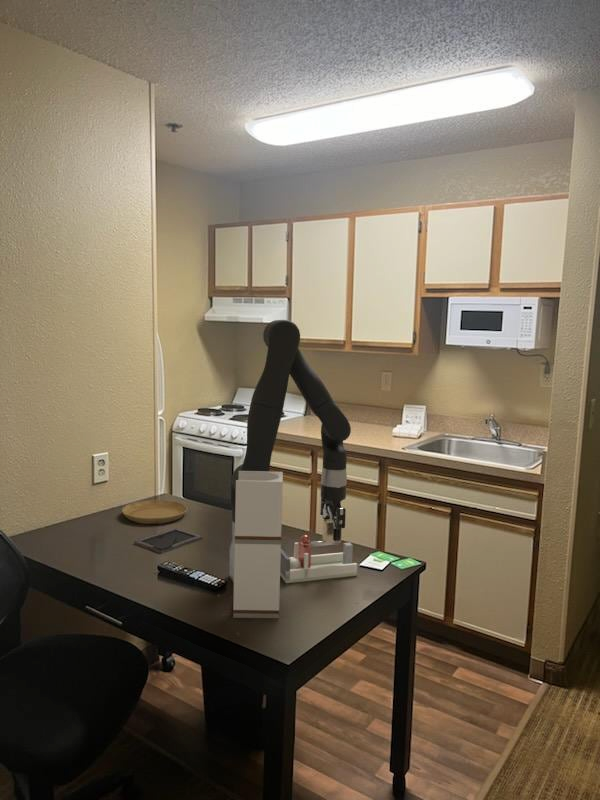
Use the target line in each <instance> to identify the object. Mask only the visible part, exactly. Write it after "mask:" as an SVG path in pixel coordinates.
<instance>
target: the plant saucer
mask: <svg viewBox="0 0 600 800" xmlns="http://www.w3.org/2000/svg"><path fill="white" fill-rule="evenodd" d="M121 511H122V514H123V515H124V516H125V518H127V519H128V520H129V521H131V522H134V523H137V524H143V525H158V524H167V523H171V522H175V521H178V520H179V519H181V518H182V517H183V516H184V515H185V514H186V513H187V511H188V506H187V505H186V504H184V503H182V502H178V501H175V500H165V499H164V500H163V499H153V500H152V499H150V500H142V501H135V502H132V503H129V504H127V505H125V506H123V507H122V509H121Z"/></svg>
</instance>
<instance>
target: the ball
mask: <svg viewBox="0 0 600 800" xmlns="http://www.w3.org/2000/svg"><path fill="white" fill-rule="evenodd" d="M300 568H301V562H300V561H299V560H298V559H296V558H292V559H290V570H291V569H300Z"/></svg>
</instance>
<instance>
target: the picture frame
mask: <svg viewBox="0 0 600 800" xmlns="http://www.w3.org/2000/svg"><path fill="white" fill-rule="evenodd" d="M201 540H203V536H202V535H200V534H197V533H193V532H192V531H191V532H190V531H188V530H187V531H186V530H183V529H181V528H178V527H174V528H171V529H167V530H165V531H162V532H158V533H155V534H152V535H150V536H149V535H148V536H146V537H143V538H140V539H137V540H134V545H136V546H139V547H142V548H145V549H147V550H149V551H153V552H154V553H155V552H156V553H159V554H164V553H167V552H170V551H173V550H176V549H179V548H181V547H184V546H187V545H190V544H193V543H195V542H198V541H201Z"/></svg>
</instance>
